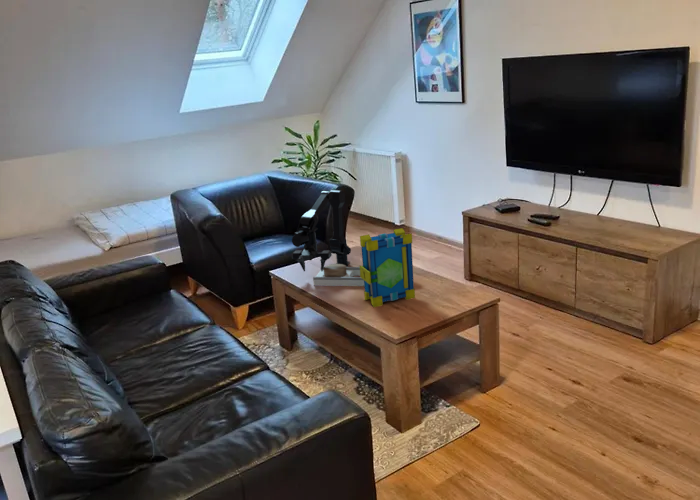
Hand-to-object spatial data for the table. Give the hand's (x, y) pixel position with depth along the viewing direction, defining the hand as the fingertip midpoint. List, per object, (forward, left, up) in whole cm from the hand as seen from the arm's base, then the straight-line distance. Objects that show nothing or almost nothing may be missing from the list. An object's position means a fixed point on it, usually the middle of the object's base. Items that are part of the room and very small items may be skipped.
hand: (313, 271), depth 312 cm
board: (0, +18, -5) cm, 18 cm away
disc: (0, +11, -2) cm, 11 cm away
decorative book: (+23, +42, -5) cm, 48 cm away
